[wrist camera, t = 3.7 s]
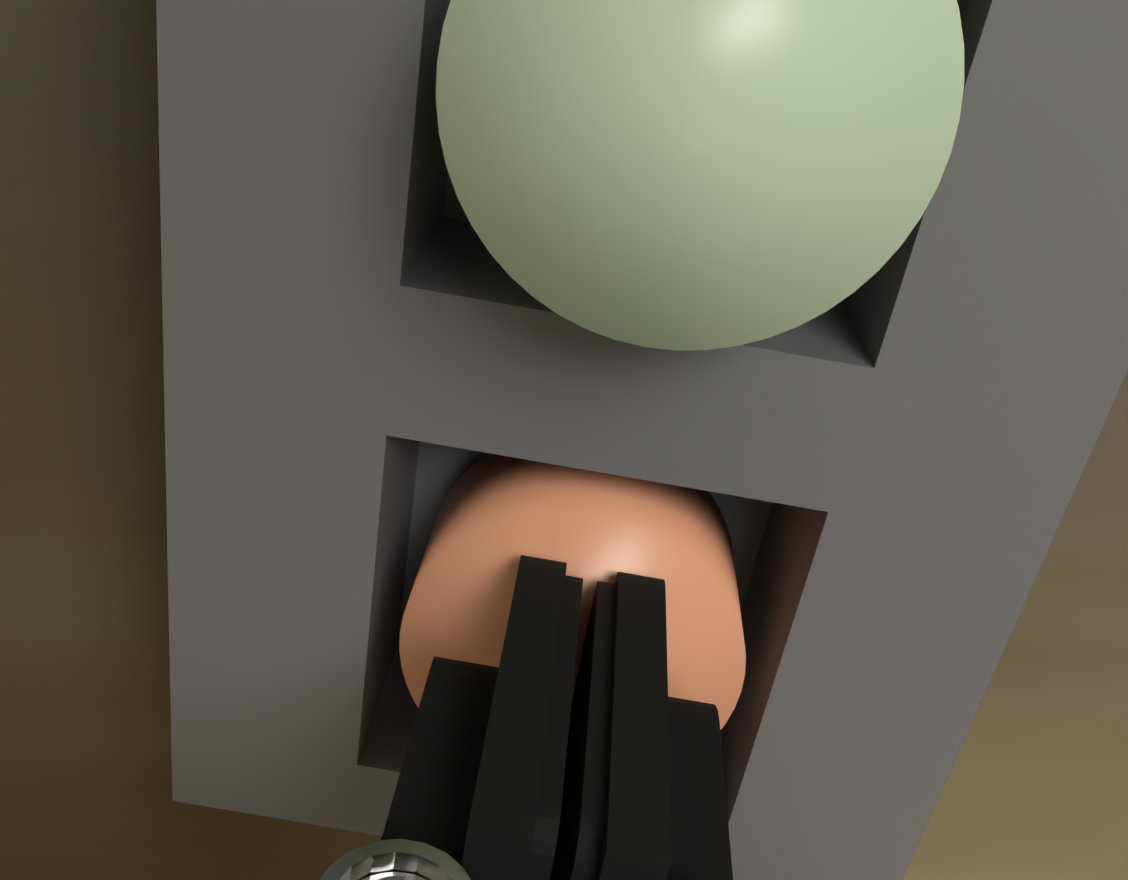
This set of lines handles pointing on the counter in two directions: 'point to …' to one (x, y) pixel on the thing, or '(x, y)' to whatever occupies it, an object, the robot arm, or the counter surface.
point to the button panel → (613, 420)
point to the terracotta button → (577, 568)
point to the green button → (696, 152)
